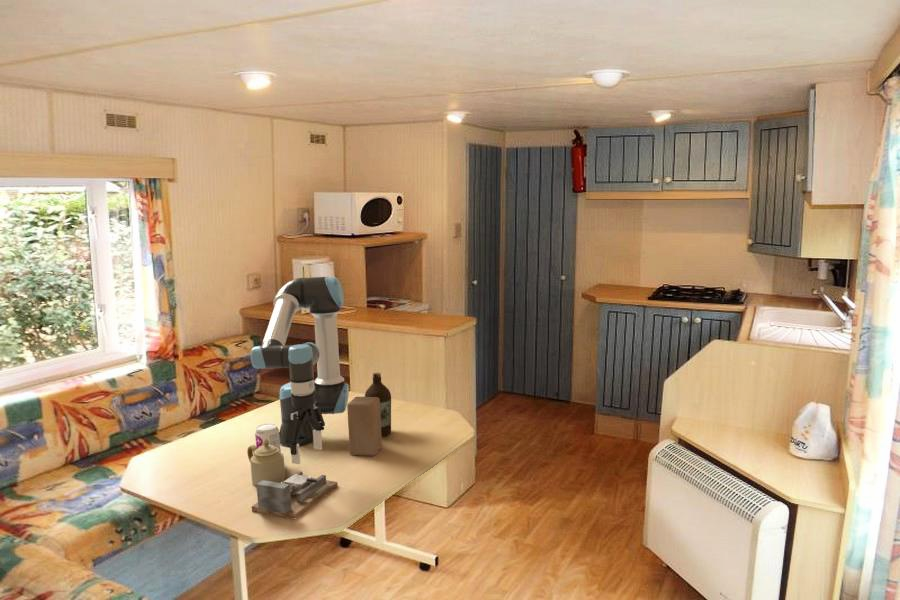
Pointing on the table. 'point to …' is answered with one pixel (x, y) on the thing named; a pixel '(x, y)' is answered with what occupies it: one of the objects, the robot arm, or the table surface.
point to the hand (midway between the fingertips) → (307, 456)
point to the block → (364, 426)
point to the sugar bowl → (266, 463)
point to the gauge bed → (290, 497)
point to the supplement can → (267, 435)
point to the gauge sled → (298, 483)
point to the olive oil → (381, 402)
